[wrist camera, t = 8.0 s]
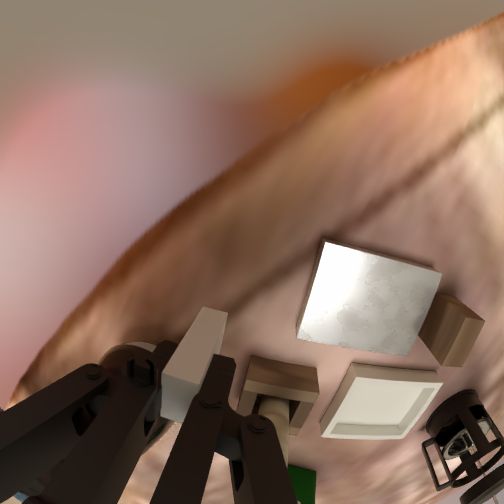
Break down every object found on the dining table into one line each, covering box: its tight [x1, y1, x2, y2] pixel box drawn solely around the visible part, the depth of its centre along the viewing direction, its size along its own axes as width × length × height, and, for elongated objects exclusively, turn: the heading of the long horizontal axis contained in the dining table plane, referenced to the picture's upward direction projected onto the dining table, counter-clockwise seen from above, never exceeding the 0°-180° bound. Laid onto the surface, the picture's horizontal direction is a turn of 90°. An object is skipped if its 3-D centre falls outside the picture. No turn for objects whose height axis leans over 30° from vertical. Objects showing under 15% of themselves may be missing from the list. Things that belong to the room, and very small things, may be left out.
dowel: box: [258, 394, 289, 467], centre depth 22 cm, size 3×3×12 cm
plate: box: [296, 238, 442, 356], centre depth 24 cm, size 12×9×2 cm
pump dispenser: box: [98, 342, 175, 455], centre depth 22 cm, size 10×10×15 cm
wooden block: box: [418, 293, 485, 367], centre depth 21 cm, size 3×5×6 cm, turn 168°
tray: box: [320, 363, 443, 439], centre depth 26 cm, size 12×10×2 cm
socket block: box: [236, 356, 319, 436], centre depth 26 cm, size 7×7×4 cm
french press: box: [422, 390, 504, 504], centre depth 16 cm, size 12×9×23 cm
